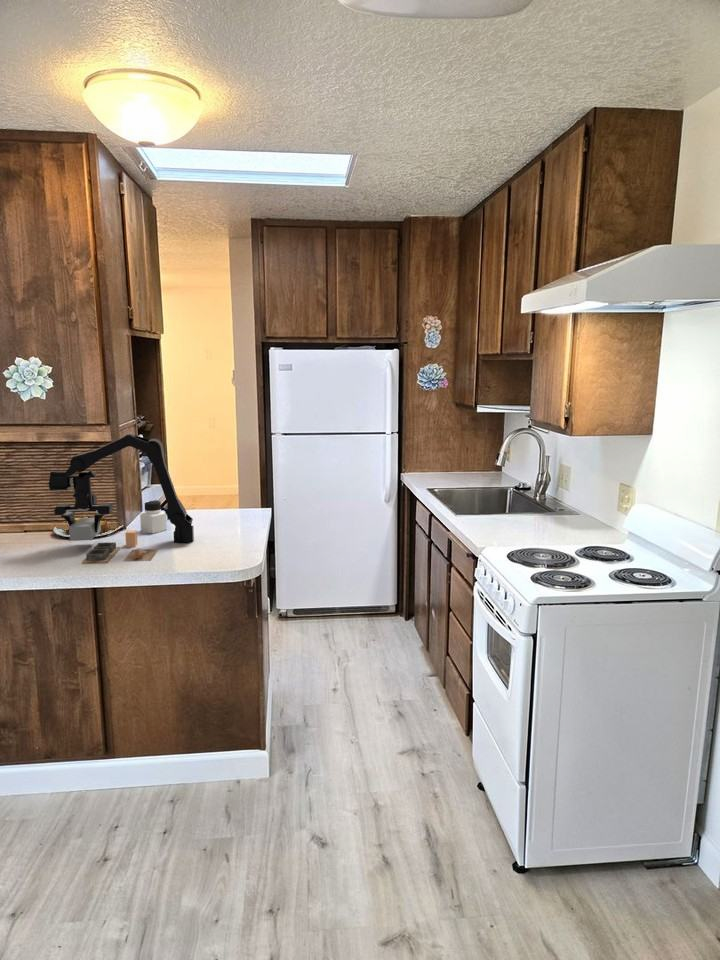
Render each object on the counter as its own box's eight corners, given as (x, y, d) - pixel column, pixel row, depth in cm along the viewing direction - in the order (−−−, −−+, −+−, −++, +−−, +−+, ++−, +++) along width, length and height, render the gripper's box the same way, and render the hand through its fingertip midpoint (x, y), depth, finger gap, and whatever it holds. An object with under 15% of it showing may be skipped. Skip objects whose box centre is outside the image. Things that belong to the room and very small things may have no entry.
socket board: (120, 551, 221) (119, 541, 221) (107, 565, 206) (106, 555, 205) (96, 551, 221) (96, 541, 220) (82, 565, 205) (81, 555, 204)
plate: (158, 551, 222) (158, 541, 221) (150, 562, 209) (150, 552, 208) (132, 551, 221) (131, 541, 220) (123, 563, 208) (122, 552, 207)
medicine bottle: (167, 530, 250) (165, 500, 247) (152, 534, 244) (151, 503, 241) (155, 527, 253) (153, 498, 251) (140, 531, 247) (139, 501, 245)
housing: (101, 531, 230) (100, 517, 229) (90, 540, 218) (89, 526, 218) (81, 531, 229) (80, 518, 229) (69, 540, 218) (68, 526, 217)
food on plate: (133, 524, 258) (132, 509, 257) (108, 541, 234) (107, 524, 233) (72, 523, 259) (70, 507, 258) (40, 540, 234) (39, 523, 233)
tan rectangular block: (137, 546, 227) (136, 530, 226) (135, 548, 224) (134, 532, 223) (128, 546, 227) (127, 530, 226) (126, 549, 224) (125, 532, 223)
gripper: (116, 484, 230) (118, 526, 233) (63, 485, 228) (66, 527, 231) (107, 491, 219) (110, 534, 222) (51, 491, 217) (55, 535, 220)
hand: (85, 532), depth 224 cm, fingers closed on housing, 7 cm apart
